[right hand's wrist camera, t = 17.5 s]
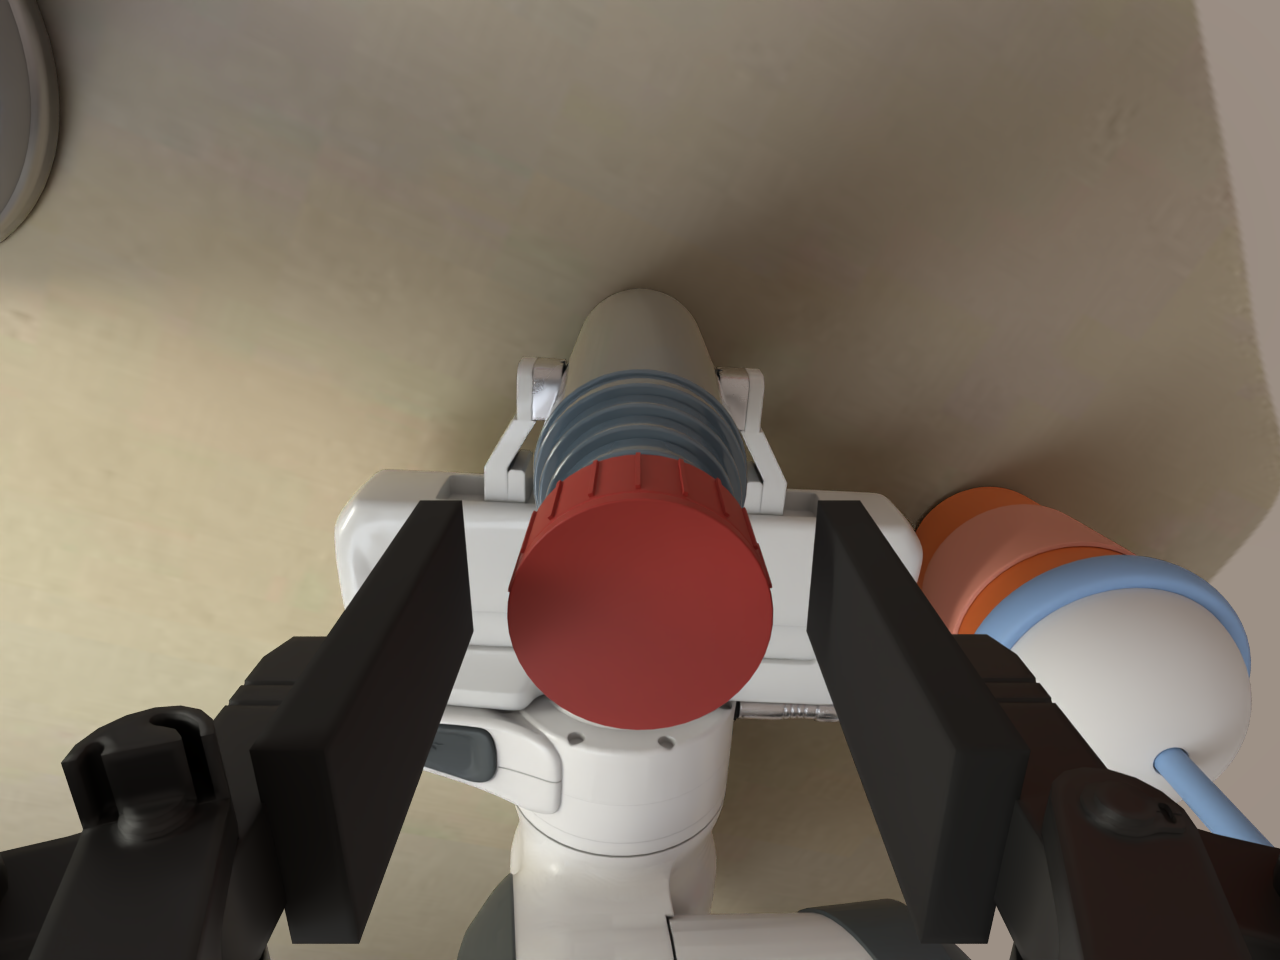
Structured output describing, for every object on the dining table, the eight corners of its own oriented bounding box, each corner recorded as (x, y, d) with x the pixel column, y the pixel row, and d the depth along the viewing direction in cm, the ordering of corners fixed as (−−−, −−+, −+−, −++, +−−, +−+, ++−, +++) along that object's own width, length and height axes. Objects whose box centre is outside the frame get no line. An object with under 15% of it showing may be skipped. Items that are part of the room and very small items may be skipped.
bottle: (552, 334, 32) (421, 566, 13) (658, 262, 31) (687, 397, 12) (623, 435, 33) (600, 775, 14) (726, 369, 32) (850, 641, 13)
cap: (732, 674, 15) (747, 747, 13) (510, 644, 15) (491, 714, 13) (781, 471, 14) (805, 519, 12) (534, 433, 14) (517, 476, 12)
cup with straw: (1120, 547, 35) (1563, 887, 18) (956, 669, 37) (1215, 1070, 21) (999, 410, 33) (1379, 654, 16) (833, 549, 35) (1011, 890, 18)
